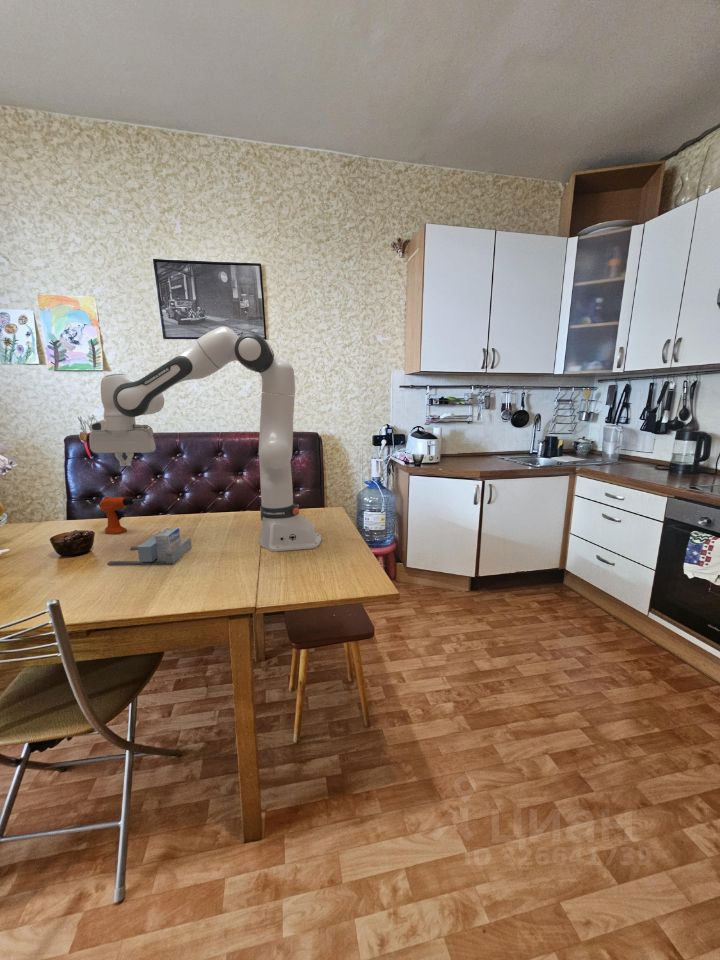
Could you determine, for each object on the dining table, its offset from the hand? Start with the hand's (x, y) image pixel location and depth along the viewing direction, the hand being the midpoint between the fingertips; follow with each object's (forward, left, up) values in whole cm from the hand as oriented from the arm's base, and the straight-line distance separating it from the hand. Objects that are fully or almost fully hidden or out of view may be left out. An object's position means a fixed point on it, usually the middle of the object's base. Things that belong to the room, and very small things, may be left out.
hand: (125, 465), depth 132 cm
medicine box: (-16, +9, -29) cm, 35 cm away
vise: (-10, +9, -29) cm, 32 cm away
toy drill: (+12, -15, -29) cm, 35 cm away
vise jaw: (-12, +9, -28) cm, 32 cm away
